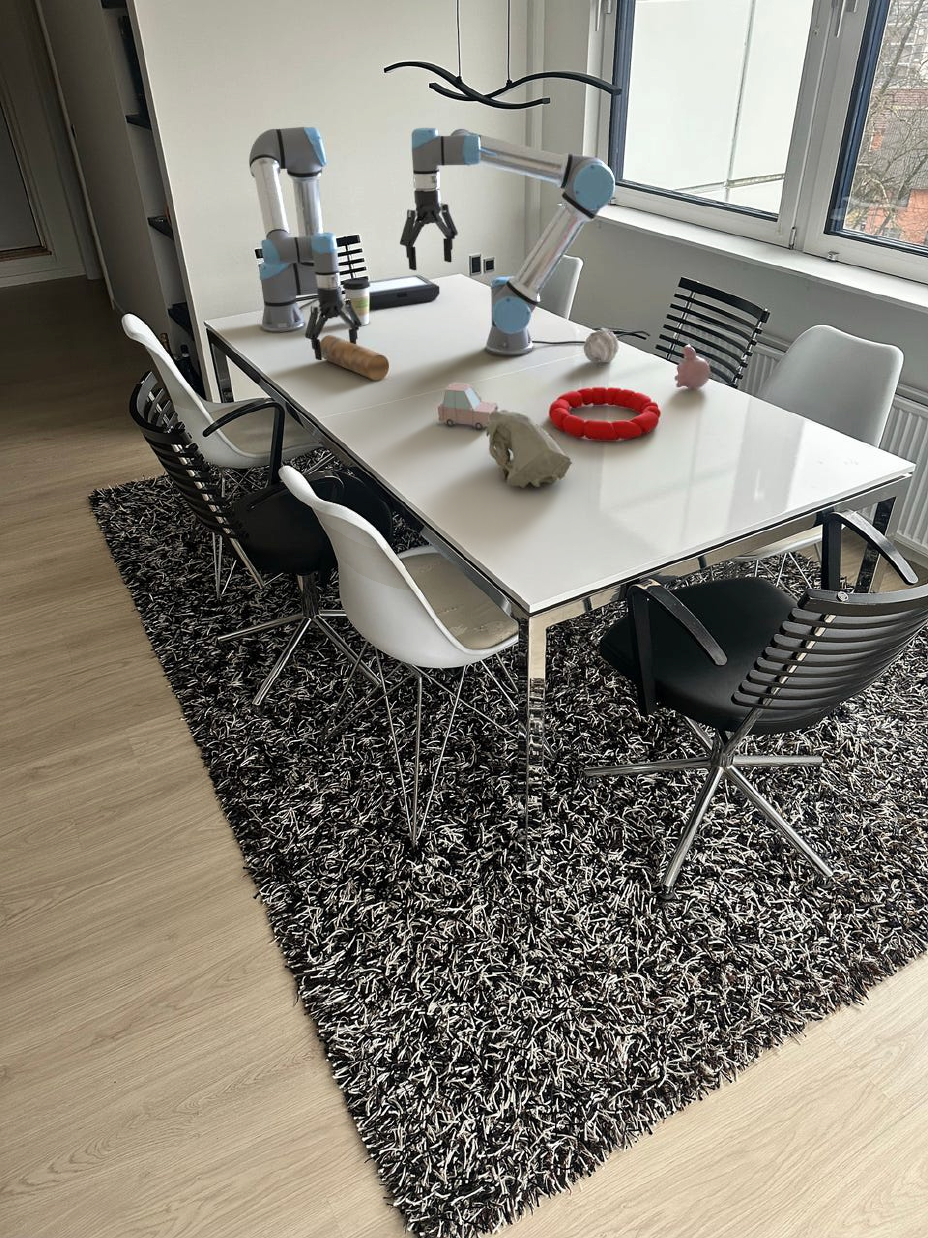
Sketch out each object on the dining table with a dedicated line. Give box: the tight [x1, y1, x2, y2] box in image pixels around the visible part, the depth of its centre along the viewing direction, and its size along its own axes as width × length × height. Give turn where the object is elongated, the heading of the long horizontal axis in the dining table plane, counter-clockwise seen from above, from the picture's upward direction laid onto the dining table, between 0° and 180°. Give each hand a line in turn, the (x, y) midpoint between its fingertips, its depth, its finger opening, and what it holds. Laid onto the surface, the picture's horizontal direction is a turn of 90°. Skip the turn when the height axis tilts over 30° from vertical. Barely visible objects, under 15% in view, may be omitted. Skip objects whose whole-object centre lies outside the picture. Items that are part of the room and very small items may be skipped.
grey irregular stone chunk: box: [485, 409, 573, 489], centre depth 216 cm, size 17×25×20 cm
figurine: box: [674, 344, 711, 390], centre depth 259 cm, size 9×11×12 cm
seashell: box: [582, 329, 620, 363], centre depth 282 cm, size 10×15×10 cm
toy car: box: [437, 382, 499, 431], centre depth 243 cm, size 9×15×10 cm, turn 70°
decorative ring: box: [548, 386, 661, 442], centre depth 242 cm, size 7×30×30 cm
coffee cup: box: [342, 277, 370, 326], centre depth 323 cm, size 10×10×15 cm
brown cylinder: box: [320, 334, 390, 382], centre depth 283 cm, size 28×8×8 cm, turn 40°
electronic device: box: [368, 274, 440, 311], centre depth 349 cm, size 32×6×20 cm
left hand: (336, 354), depth 290 cm, fingers open, 13 cm apart
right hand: (430, 265), depth 270 cm, fingers open, 13 cm apart
